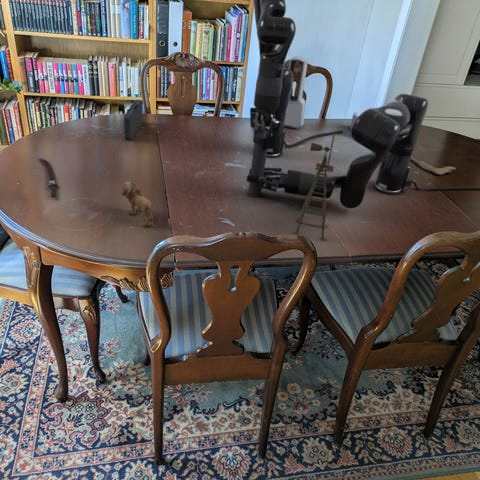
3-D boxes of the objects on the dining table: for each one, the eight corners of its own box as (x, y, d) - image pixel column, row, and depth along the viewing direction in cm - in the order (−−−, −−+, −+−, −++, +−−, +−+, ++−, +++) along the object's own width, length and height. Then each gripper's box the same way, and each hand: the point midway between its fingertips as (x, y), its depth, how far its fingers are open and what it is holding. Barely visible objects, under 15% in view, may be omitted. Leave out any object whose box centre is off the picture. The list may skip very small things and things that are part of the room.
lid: (270, 141, 147) (271, 135, 146) (266, 146, 143) (267, 139, 142) (256, 138, 148) (257, 132, 147) (252, 142, 144) (253, 136, 143)
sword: (61, 197, 141) (61, 193, 140) (50, 198, 139) (50, 194, 139) (49, 160, 164) (48, 156, 163) (39, 160, 163) (39, 157, 162)
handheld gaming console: (136, 121, 202) (136, 98, 197) (143, 121, 202) (142, 98, 197) (123, 140, 183) (122, 115, 178) (130, 141, 183) (130, 116, 178)
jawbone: (446, 180, 181) (448, 175, 179) (397, 163, 191) (398, 159, 190) (455, 172, 186) (456, 167, 185) (406, 156, 197) (407, 152, 195)
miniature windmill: (323, 240, 134) (345, 141, 118) (294, 234, 135) (312, 135, 119) (324, 224, 142) (346, 129, 126) (297, 219, 143) (314, 124, 127)
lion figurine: (118, 210, 138) (116, 182, 133) (132, 204, 141) (131, 177, 137) (151, 229, 130) (150, 201, 126) (165, 223, 134) (165, 195, 129)
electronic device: (303, 125, 218) (315, 58, 202) (300, 130, 212) (311, 61, 196) (278, 120, 221) (287, 54, 205) (273, 125, 215) (283, 56, 199)
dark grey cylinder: (253, 198, 152) (261, 143, 142) (245, 192, 155) (252, 138, 145) (263, 195, 155) (271, 141, 145) (254, 189, 158) (262, 136, 147)
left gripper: (244, 84, 140) (239, 138, 149) (270, 99, 130) (262, 156, 139) (265, 83, 143) (258, 136, 153) (292, 97, 133) (283, 153, 143)
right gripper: (303, 164, 154) (252, 156, 156) (300, 181, 142) (245, 173, 144) (300, 184, 158) (250, 176, 160) (297, 203, 146) (243, 194, 148)
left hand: (260, 145), depth 146 cm, fingers closed on lid, 4 cm apart
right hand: (248, 174), depth 152 cm, fingers closed on dark grey cylinder, 4 cm apart
